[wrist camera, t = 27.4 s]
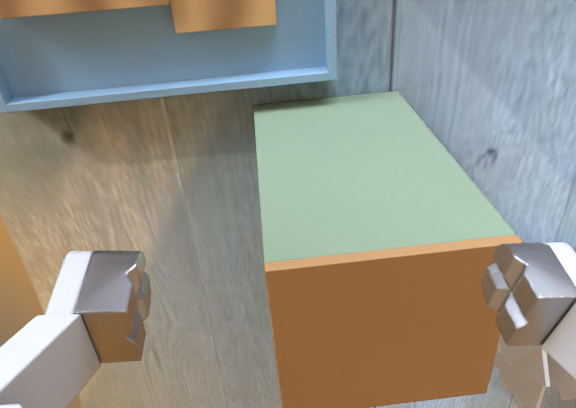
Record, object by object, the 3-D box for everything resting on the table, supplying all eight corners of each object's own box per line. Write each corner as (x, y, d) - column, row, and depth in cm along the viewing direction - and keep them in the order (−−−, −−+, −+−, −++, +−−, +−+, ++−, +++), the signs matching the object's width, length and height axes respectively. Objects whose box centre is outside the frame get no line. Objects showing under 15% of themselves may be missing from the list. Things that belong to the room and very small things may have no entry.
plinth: (266, 217, 56) (283, 418, 35) (253, 105, 49) (264, 271, 27) (391, 203, 57) (486, 393, 35) (397, 90, 49) (523, 242, 27)
